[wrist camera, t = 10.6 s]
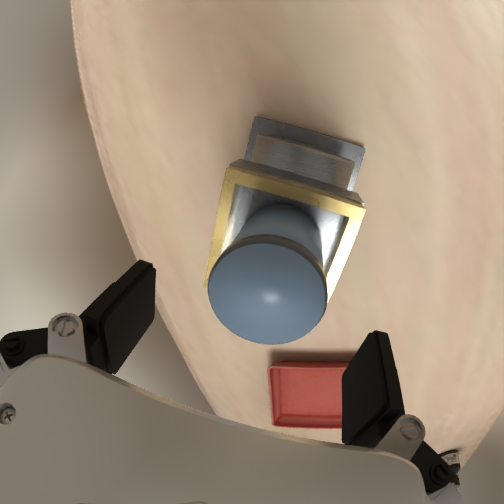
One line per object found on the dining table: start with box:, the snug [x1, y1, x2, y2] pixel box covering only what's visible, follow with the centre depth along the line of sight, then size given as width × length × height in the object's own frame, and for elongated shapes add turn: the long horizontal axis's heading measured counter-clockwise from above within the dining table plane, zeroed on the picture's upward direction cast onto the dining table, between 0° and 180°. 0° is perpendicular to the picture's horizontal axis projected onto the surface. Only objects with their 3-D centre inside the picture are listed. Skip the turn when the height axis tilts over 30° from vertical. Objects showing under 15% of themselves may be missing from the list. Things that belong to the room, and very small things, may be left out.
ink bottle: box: [439, 451, 460, 487], centre depth 46 cm, size 10×9×12 cm
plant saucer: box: [267, 361, 350, 429], centre depth 43 cm, size 18×18×3 cm
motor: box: [204, 116, 366, 303], centre depth 25 cm, size 16×12×14 cm
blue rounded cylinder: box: [208, 205, 328, 345], centre depth 17 cm, size 6×6×7 cm
